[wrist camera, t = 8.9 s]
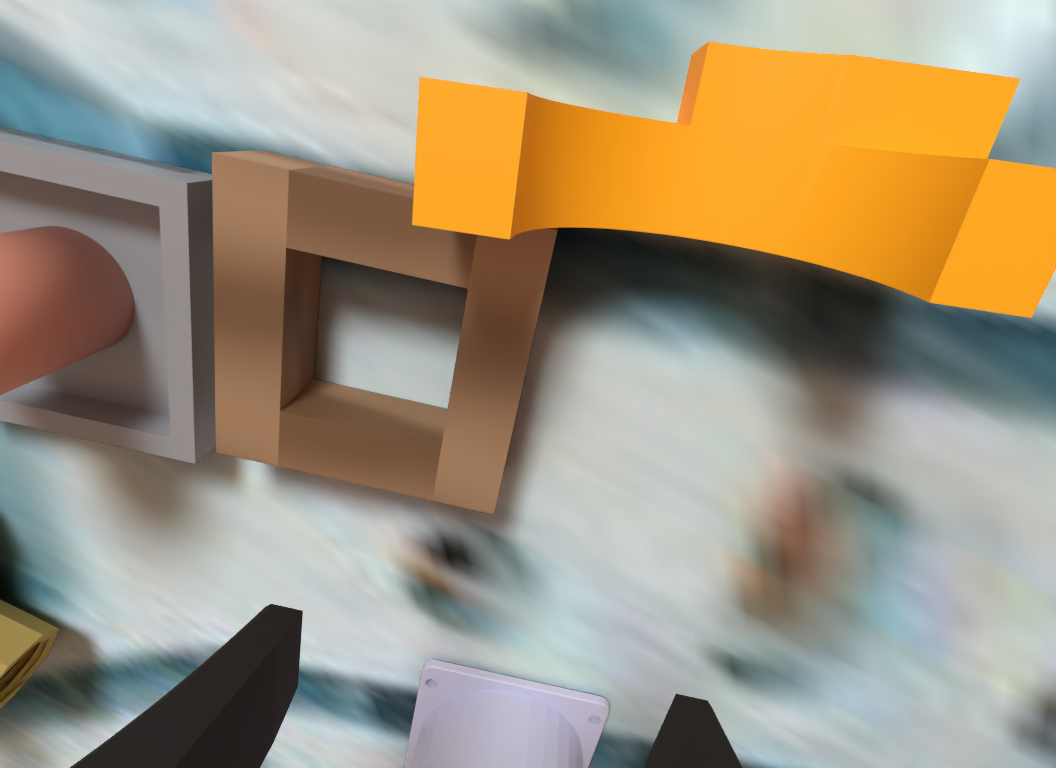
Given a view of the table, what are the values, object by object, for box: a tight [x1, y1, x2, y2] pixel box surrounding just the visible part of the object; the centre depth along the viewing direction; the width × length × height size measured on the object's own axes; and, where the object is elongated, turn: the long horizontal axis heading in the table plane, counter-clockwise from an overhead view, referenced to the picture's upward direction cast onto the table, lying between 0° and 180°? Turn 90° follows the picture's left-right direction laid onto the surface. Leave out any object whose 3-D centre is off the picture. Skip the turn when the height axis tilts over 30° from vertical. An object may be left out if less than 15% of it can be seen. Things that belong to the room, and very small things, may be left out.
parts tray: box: [0, 127, 216, 464], centre depth 18 cm, size 9×9×2 cm
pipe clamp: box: [412, 42, 1056, 318], centre depth 13 cm, size 12×4×6 cm, turn 82°
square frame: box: [212, 150, 558, 514], centre depth 18 cm, size 9×9×2 cm
